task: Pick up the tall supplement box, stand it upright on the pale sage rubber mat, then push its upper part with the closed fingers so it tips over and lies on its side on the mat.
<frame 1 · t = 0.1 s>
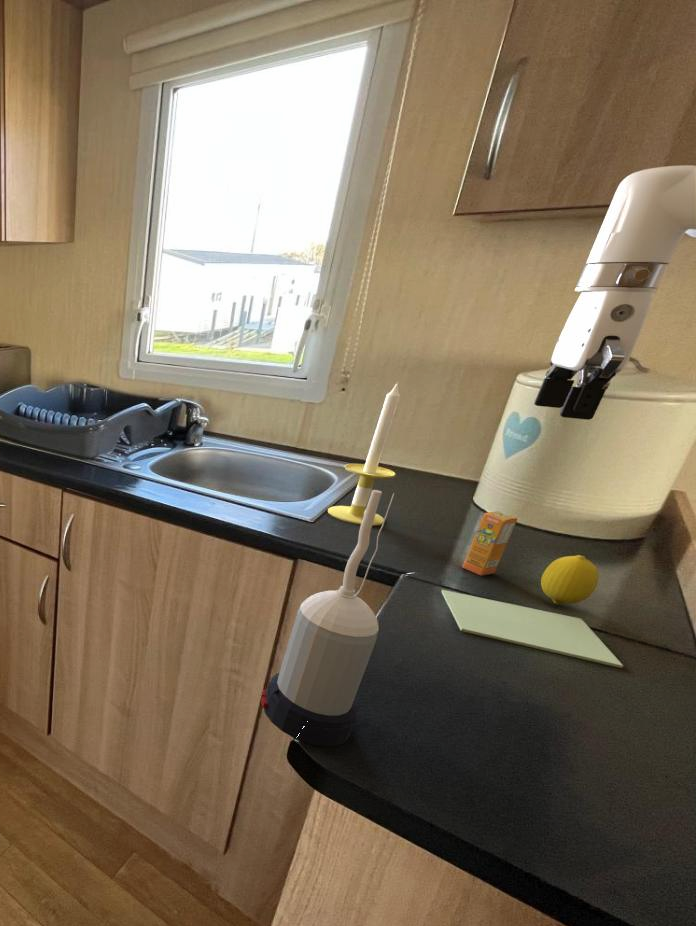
hand: (560, 412, 78), 27 cm above the worktop, tool pointing down, fingers open, 9 cm apart
supplement box: (476, 571, 90), on the worktop
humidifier: (304, 718, 57), on the worktop
mat: (521, 625, 75), on the worktop
candle: (355, 516, 112), on the worktop
lemon: (556, 605, 81), on the worktop
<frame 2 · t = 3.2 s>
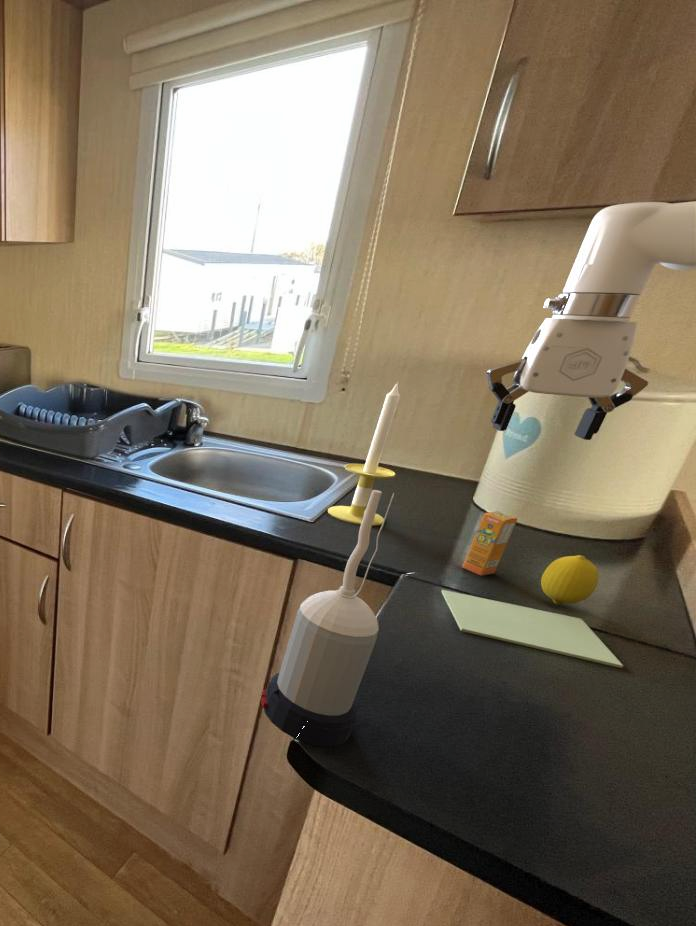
hand: (539, 433, 81), 23 cm above the worktop, tool pointing down, fingers open, 9 cm apart
nothing on the worktop moved.
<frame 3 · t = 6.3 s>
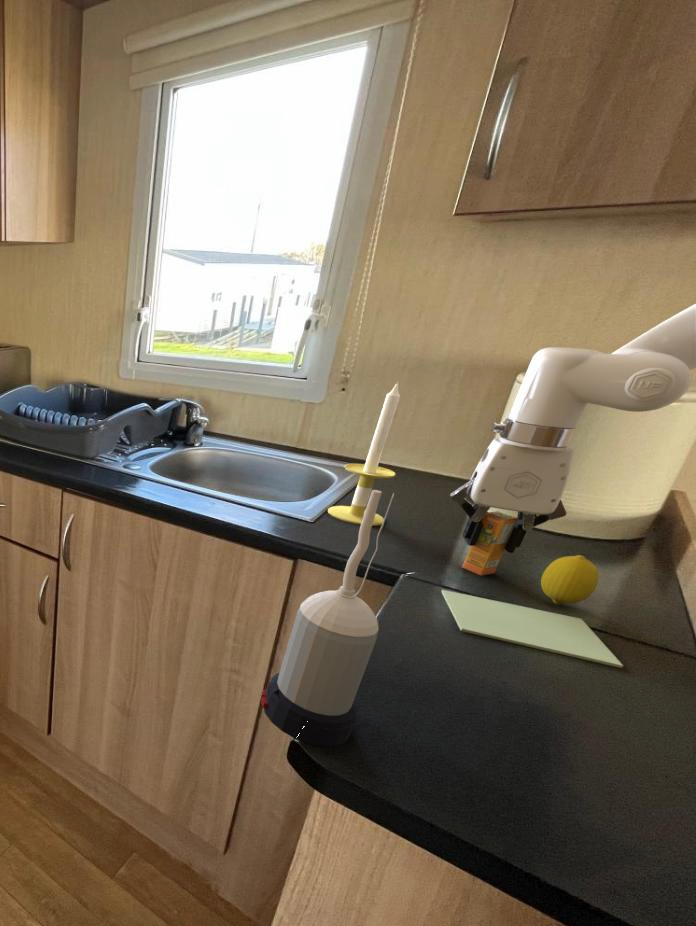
hand: (488, 545, 88), 5 cm above the worktop, tool pointing down, fingers closed on supplement box, 4 cm apart
supplement box: (476, 571, 90), on the worktop, touching gripper
everything else where it was.
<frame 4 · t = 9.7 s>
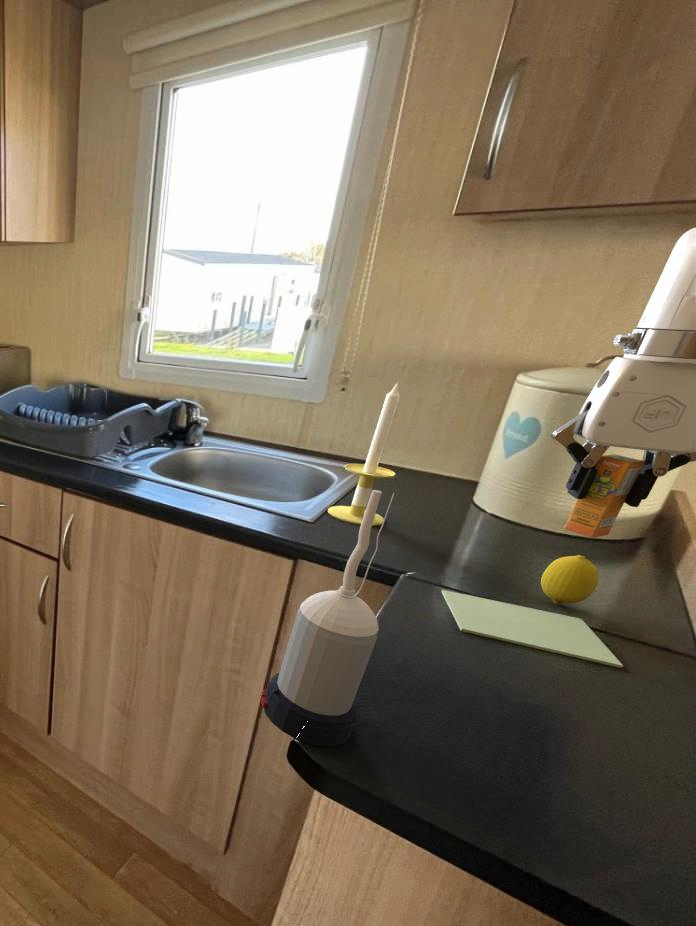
hand: (601, 498, 69), 18 cm above the worktop, tool pointing down, fingers closed on supplement box, 4 cm apart
supplement box: (583, 533, 71), point 14 cm above the worktop, touching gripper
everything else where it was.
when the fingers open (5 cm above the worktop, at t = 13.2 s): supplement box stays where it is, resting on mat.
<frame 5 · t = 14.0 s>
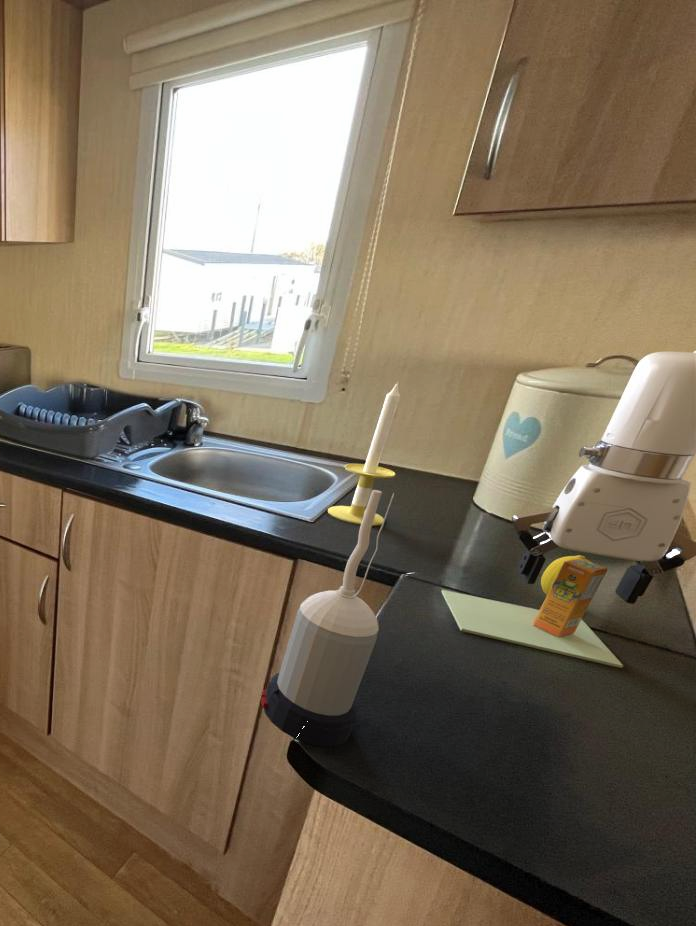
hand: (573, 588, 71), 7 cm above the worktop, tool pointing down, fingers open, 9 cm apart
supplement box: (551, 631, 74), resting on mat
everything else where it was.
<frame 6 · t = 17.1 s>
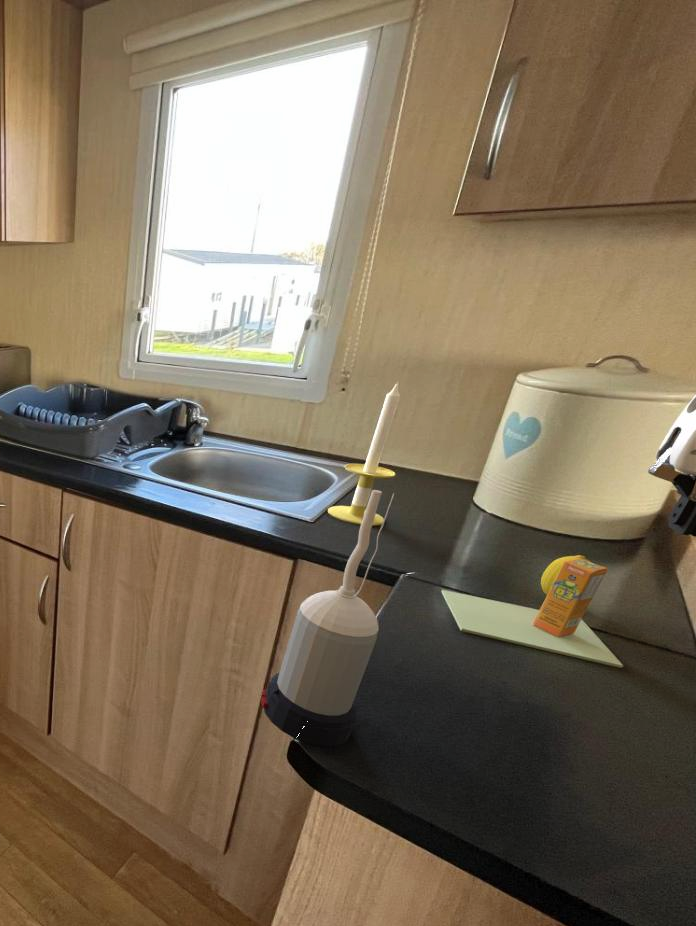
hand: (684, 531, 65), 16 cm above the worktop, tool pointing down, fingers closed
nothing on the worktop moved.
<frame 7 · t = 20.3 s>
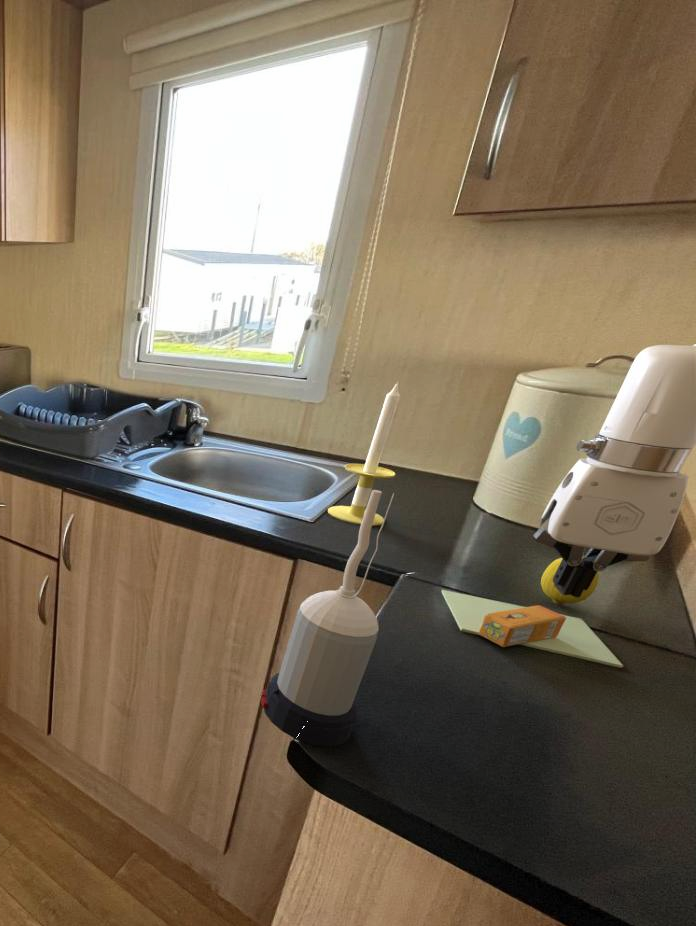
hand: (566, 591, 72), 6 cm above the worktop, tool pointing down, fingers closed
supplement box: (549, 621, 73), point 2 cm above the worktop, touching mat
everything else where it was.
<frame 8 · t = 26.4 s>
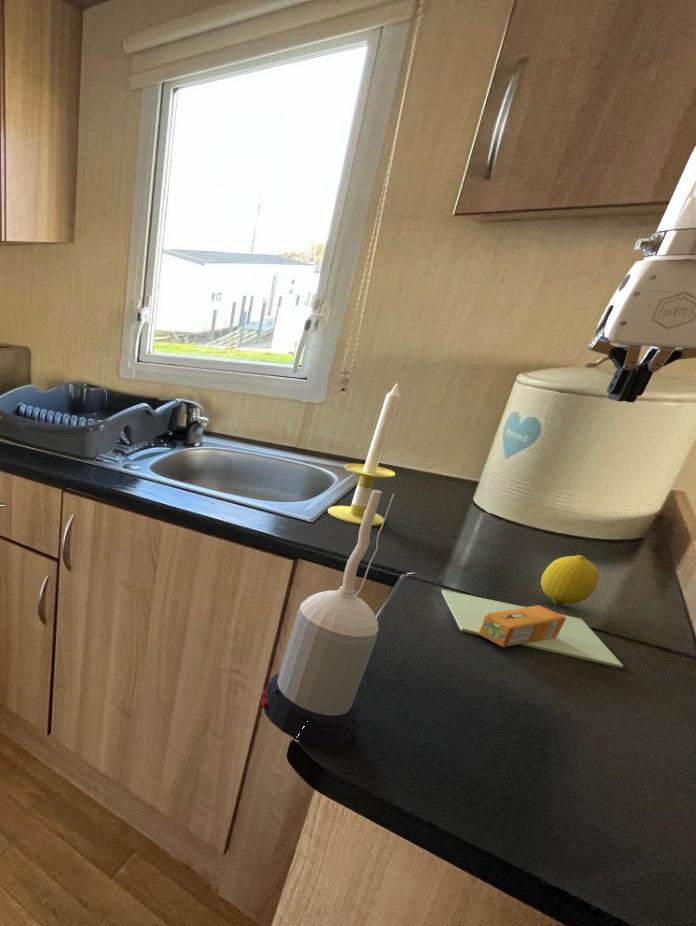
hand: (620, 400, 74), 29 cm above the worktop, tool pointing down, fingers closed
nothing on the worktop moved.
at the end: supplement box tilted 89°; supplement box inside the target area on the mat (3.2 cm from its centre), point 1.9 cm above the mat's base; the gripper is holding nothing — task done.
